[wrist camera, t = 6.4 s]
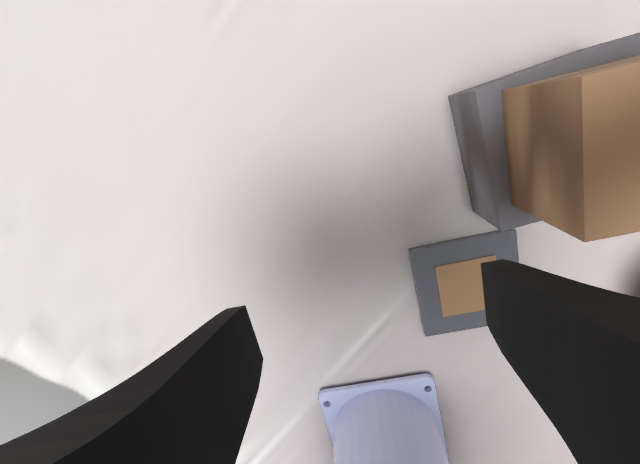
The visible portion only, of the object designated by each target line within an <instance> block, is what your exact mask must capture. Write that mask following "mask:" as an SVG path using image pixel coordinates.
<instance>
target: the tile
mask: <svg viewBox="0 0 640 464" xmlns="http://www.w3.org/2000/svg"><path fill="white" fill-rule="evenodd" d="M409 254H410V259H411V265H412V270H413V275H414V281H415V286H416V291H417V297H418V302H419V308H420V313H421V318H422V324H423V329H424V334H425V336H431V335H437V334H443V333H449V332H455V331H460V330H466V329H472V328H478V327H484V326H488V325H487V323H486V313H485V303H484V293H483V283H482V273H481V263H484V262H489V261H495V260H500V259H505V260H509V261H513V262H517V263H519V260H518V248H517V236H516V230H515V229H514V228H512V229H509V230H505V231H495V232H490V233H485V234H480V235H475V236H471V237H466V238H461V239H456V240H451V241H446V242H442V243H437V244H432V245H427V246H422V247H417V248H413V249H409Z"/></svg>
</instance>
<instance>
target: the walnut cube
mask: <svg viewBox="0 0 640 464" xmlns="http://www.w3.org/2000/svg"><path fill="white" fill-rule="evenodd" d="M501 91H502V103H503V114H504V126H505V138H506V150H507V161H508V173H509V185H510V197H511V205H513V206H515V207H517V208H519V209H521V210H523V211H525V212H527V213H529V214H531V215H533V216H535V217H537V218H538V219H540V220H542V221H544V222H546V223H548V224H550V225H552V226H554V227H556V228H558V229H560V230H562V231H564V232H566V233H568V234H570V235H572V236H574V237H575V238H577V239H579V240H581V241H583V242H589V241H594V240H599V239H604V238H609V237H614V236H619V235H624V234H629V233H635V232H640V55H636V56H631V57H628V58H624V59H620V60H616V61H612V62H608V63H604V64H601V65H597V66H593V67H589V68H585V69H581V70H577V71H574V72H570V73H566V74H562V75H558V76H554V77H551V78H547V79H543V80H539V81H535V82H531V83H527V84H524V85H520V86H516V87H512V88H508V89H504V90H501Z"/></svg>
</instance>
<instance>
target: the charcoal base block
mask: <svg viewBox="0 0 640 464" xmlns="http://www.w3.org/2000/svg"><path fill="white" fill-rule="evenodd" d="M636 55H640V33H637V34H633V35H630V36H626V37H623V38H619V39H616V40H612V41H609V42H605V43H602V44H598V45H595V46H591V47H588V48H585V49H581V50H578V51H575V52H572V53H570V54H567V55H564V56H561V57H558V58H555V59H552V60H550V61H547V62H544V63H541V64H538V65H535V66H533V67H530V68H527V69H524V70H521V71H518V72H515V73H513V74H510V75H507V76H504V77H501V78H498V79H495V80H493V81H490V82H487V83H484V84H481V85H478V86H475V87H473V88H470V89H467V90H464V91H461V92H458V93H456V94H453V95H450V96H448V97H449V102H450V107H451V111H452V116H453V121H454V125H455V130H456V135H457V139H458V144H459V149H460V153H461V158H462V163H463V167H464V172H465V177H466V181H467V186H468V191H469V195H470V200H471V205H472V209H473V211H474V212H475V213H477V214H478V215H479V216H481V217H482V218H484V219H485V220H486V221H488V222H489V223H491V224H492V225H493V226H495V227H496V228H498V229H499V230H500V231H505V230H509V229H512V228H516V227H520V226H523V225H527V224H530V223H534V222H537V221H541V220H540V219H538V218H537V217H535V216H533V215H531V214H529V213H527V212H525V211H523V210H521V209H519V208H517V207H515V206H513V205H511V197H510V185H509V173H508V161H507V150H506V138H505V126H504V114H503V103H502V91H501V90H504V89H508V88H512V87H516V86H520V85H524V84H527V83H531V82H535V81H539V80H543V79H547V78H551V77H554V76H558V75H562V74H566V73H570V72H574V71H577V70H581V69H585V68H589V67H593V66H597V65H601V64H604V63H608V62H612V61H616V60H620V59H624V58H628V57H631V56H636Z"/></svg>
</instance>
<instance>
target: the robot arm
mask: <svg viewBox="0 0 640 464" xmlns="http://www.w3.org/2000/svg"><path fill="white" fill-rule="evenodd" d="M481 273H482V283H483V293H484V303H485V313H486V323H487V325H488V327H489V329H490V331H491V333H492V335H493V337H494V339H495V341H496V343H497V345H498V346H499V348H500V350H501V352H502V354H503V355H504V356H505V358H506V359H507V361H508V362H509V364H510V365H511V366H512V368H513V369H514V371H515V372H516V373H517V375H518V376H519V378H520V379H521V380H522V382H523V383H524V384H525V386H526V387H527V389H528V390H529V391H530V393H531V394H532V395H533V397H534V398H535V400H536V401H537V402H538V404H539V405H540V407H541V408H542V409H543V411H544V412H545V413H546V415H547V416H548V418H549V419H550V420H551V422H552V423H553V424H554V426H555V428H556V429H557V431H558V432H559V434H560V435H561V437H562V438H563V440H564V441H565V443H566V444H567V446H568V448H569V449H570V451H571V453H572V454H573V456H574V458H575V459H576V461H577V463H578V464H640V298H637V297H633V296H629V295H625V294H620V293H617V292H613V291H609V290H605V289H602V288H598V287H594V286H591V285H587V284H584V283H580V282H577V281H574V280H570V279H567V278H564V277H561V276H558V275H554V274H551V273H548V272H545V271H542V270H539V269H536V268H533V267H530V266H527V265H523V264H520V263H517V262H513V261H509V260H505V259H500V260H495V261H489V262H484V263H481ZM262 364H263V357H262V354H261V351H260V348H259V345H258V342H257V339H256V336H255V333H254V330H253V327H252V324H251V321H250V318H249V315H248V312H247V309H246V306H240V307H234V308H228V309H226V310H224V311H222V312H221V313H219V314H218V315H216V316H215V317H213V318H212V319H211V320H209V321H208V322H206V323H205V324H204V325H202V326H201V327H200V328H199V329H197V330H196V331H195V332H193V333H192V334H191V335H189V336H188V337H187V338H185V339H184V340H183V341H181V342H180V343H179V344H177V345H176V346H175V347H173V348H172V349H171V350H169V351H168V352H166V353H165V354H164V355H162V356H161V357H159V358H158V359H157V360H155V361H154V362H152V363H151V364H150V365H148V366H147V367H145V368H144V369H142V370H141V371H139V372H138V373H136V374H135V375H133V376H132V377H130V378H129V379H127V380H125V381H124V382H122V383H120V384H119V385H117V386H115V387H114V388H112V389H111V390H109V391H107V392H105V393H104V394H102V395H100V396H99V397H97V398H95V399H93V400H91V401H89V402H87V403H86V404H84V405H82V406H80V407H78V408H76V409H75V410H73V411H71V412H69V413H67V414H65V415H63V416H61V417H60V418H58V419H56V420H54V421H52V422H49V423H47V424H45V425H43V426H41V427H39V428H37V429H35V430H33V431H31V432H29V433H27V434H24V435H22V436H20V437H18V438H16V439H13V440H11V441H9V442H7V443H5V444H2V445H0V464H235V462H236V459H237V456H238V453H239V449H240V446H241V443H242V440H243V437H244V434H245V430H246V427H247V424H248V421H249V418H250V415H251V411H252V408H253V405H254V402H255V398H256V395H257V392H258V388H259V382H260V377H261V371H262ZM426 386H430V387H428V388H425V387H426ZM318 399H319V402H320V406H321V409H322V412H323V415H324V418H325V421H326V425H327V428H328V431H329V434H330V437H331V440H332V444H333V447H334V458H333V464H449V459H448V454H447V448H446V443H445V437H444V432H443V427H442V421H441V416H440V410H439V405H438V400H437V394H436V389H435V383H434V380H433V377H432V376H431V375H430V374H418V375H412V376H405V377H399V378H393V379H386V380H380V381H373V382H367V383H361V384H354V385H348V386H341V387H335V388H329V389H323V390H321V391H320V392H319V395H318ZM326 401H328V402H329V403H326Z"/></svg>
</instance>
